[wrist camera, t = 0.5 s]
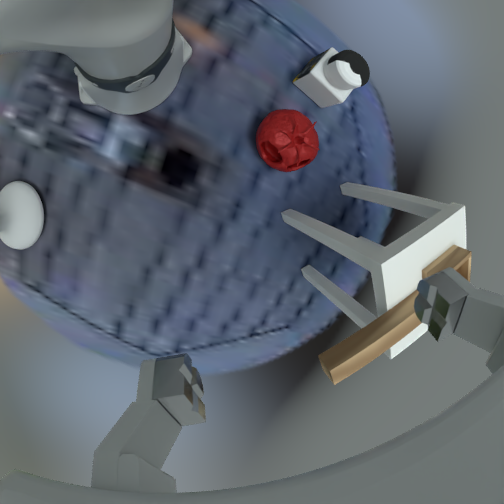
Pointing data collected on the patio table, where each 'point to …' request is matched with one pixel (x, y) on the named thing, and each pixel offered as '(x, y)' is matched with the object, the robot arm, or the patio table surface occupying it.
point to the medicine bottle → (332, 76)
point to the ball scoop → (387, 324)
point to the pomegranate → (287, 140)
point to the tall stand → (386, 252)
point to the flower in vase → (20, 215)
